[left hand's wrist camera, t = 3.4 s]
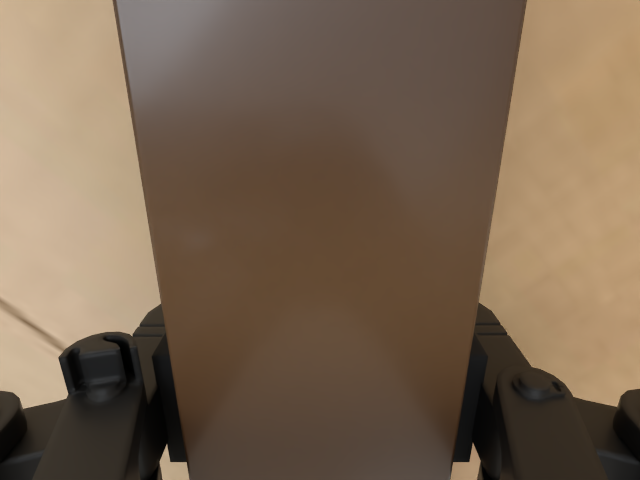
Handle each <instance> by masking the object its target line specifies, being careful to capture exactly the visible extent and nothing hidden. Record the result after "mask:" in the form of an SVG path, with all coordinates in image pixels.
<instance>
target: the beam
mask: <svg viewBox="0 0 640 480" xmlns="http://www.w3.org/2000/svg"><path fill="white" fill-rule="evenodd" d="M526 2H527V0H113V5H114V11H115V17H116V24H117V30H118V36H119V42H120V49H121V55H122V61H123V67H124V74H125V80H126V86H127V92H128V98H129V105H130V111H131V117H132V123H133V130H134V136H135V142H136V148H137V155H138V161H139V167H140V173H141V180H142V186H143V192H144V198H145V205H146V211H147V217H148V223H149V230H150V236H151V242H152V248H153V254H154V261H155V267H156V273H157V279H158V286H159V292H160V298H161V304H162V311H163V317H164V323H165V329H166V336H167V342H168V348H169V354H170V361H171V367H172V373H173V379H174V386H175V392H176V398H177V404H178V410H179V417H180V423H181V429H182V435H183V442H184V448H185V454H186V460H187V467H188V473H189V479H190V480H450V477H451V471H452V465H453V458H454V452H455V446H456V440H457V433H458V427H459V421H460V415H461V408H462V402H463V396H464V390H465V383H466V377H467V371H468V365H469V358H470V352H471V346H472V340H473V333H474V327H475V321H476V315H477V308H478V302H479V296H480V290H481V283H482V277H483V271H484V265H485V258H486V252H487V246H488V240H489V233H490V227H491V221H492V215H493V208H494V202H495V196H496V190H497V183H498V177H499V171H500V165H501V158H502V152H503V146H504V140H505V133H506V127H507V121H508V115H509V108H510V102H511V96H512V90H513V83H514V77H515V71H516V64H517V58H518V52H519V46H520V39H521V33H522V27H523V21H524V14H525V8H526Z"/></svg>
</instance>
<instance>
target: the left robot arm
mask: <svg viewBox="0 0 640 480" xmlns="http://www.w3.org/2000/svg"><path fill="white" fill-rule="evenodd" d="M59 362H60V365H61V369H62V372H63V376H64V380H65V383H66V387H67V390H68V396H67V399H64V400H61V401H57V402H53V403H48V404H44V405H39V406H34V407H30V408H25V409H23V408H22V405H21V402H20V399H19V397H17V396H16V395H15V394H14V393H12V392H5V391H0V480H162V474H161V468H160V462H159V461H160V459H161V457H162V454H163V452H164V449H165V447H166V444H167V445H168V451H169V457H170V462H187V460H186V454H185V448H184V442H183V435H182V429H181V423H180V417H179V410H178V404H177V398H176V392H175V386H174V379H173V373H172V367H171V361H170V354H169V348H168V342H167V336H166V329H165V323H164V317H163V311H162V304H160V305H159V306H157V307H156V308H154V309H153V310H151V311H150V312H148V314H147V315H146V316H145V318H144V319H143V321H142V322H141V323H140V327H138V328H137V329H136V330H135V332H134V333H133V337H132V336H131V335H130V334H126V333H122V332H105V333H100V334H96V335H91V336H89V337H86V338H84V339H82V340H79V341H77V342H75V343H74V344H72V345H71V346H69V347H68V348H66V349H65V350H64V352H63V353H62V354H61V355H60V356H59ZM473 443H474V445H475V448H476V450H477V453H478V455H479V458H480V460H481V462H480V468H479V473H478V478H477V480H640V389H636V390H629V391H627V392H625V393H624V394H623V395H622V396H621V398H620V401H619V404H618V407H614V406H609V405H605V404H600V403H595V402H591V401H586V400H582V399H579V398H575V397H573V396H572V393H571V392H570V391H569V389H568V388H567V386H566V385H565V384H564V383H563V382H561V381H560V380H559V379H558V378H556V377H555V376H554V375H551V374H549V373H547V372H545V371H543V370H541V369H537V368H533V367H531V365H530V364H529V363H528V361H527V360H526V358H525V357H524V356H523V354H522V353H521V351H520V350H519V349H518V347H517V346H516V344H515V343H514V342H513V340H512V339H511V337H510V336H509V335H507V332H506V330H505V329H504V328H503V326H502V325H500V322H499V321H498V319H497V318H496V316H495V315H494V314H493V312H492V311H491V310H489V309H488V308H486V307H485V306H483V305H482V304H480V303H479V302H478V308H477V315H476V321H475V327H474V333H473V340H472V346H471V352H470V358H469V365H468V371H467V377H466V383H465V390H464V396H463V402H462V408H461V415H460V421H459V427H458V433H457V440H456V446H455V452H454V458H453V462H469V460H470V455H471V449H472V444H473Z"/></svg>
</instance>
